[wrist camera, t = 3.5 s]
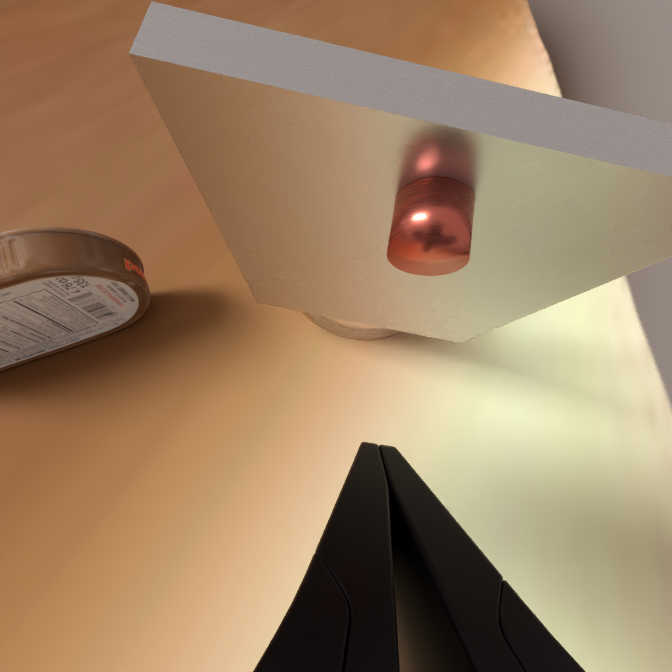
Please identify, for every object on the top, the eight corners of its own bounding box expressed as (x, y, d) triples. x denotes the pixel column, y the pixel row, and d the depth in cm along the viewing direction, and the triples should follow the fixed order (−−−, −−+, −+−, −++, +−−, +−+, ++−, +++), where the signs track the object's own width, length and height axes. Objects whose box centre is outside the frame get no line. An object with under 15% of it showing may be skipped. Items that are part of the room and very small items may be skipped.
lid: (461, 323, 19) (457, 366, 18) (261, 283, 18) (251, 326, 18) (786, 150, 6) (809, 275, 5) (151, 1, 5) (98, 121, 5)
